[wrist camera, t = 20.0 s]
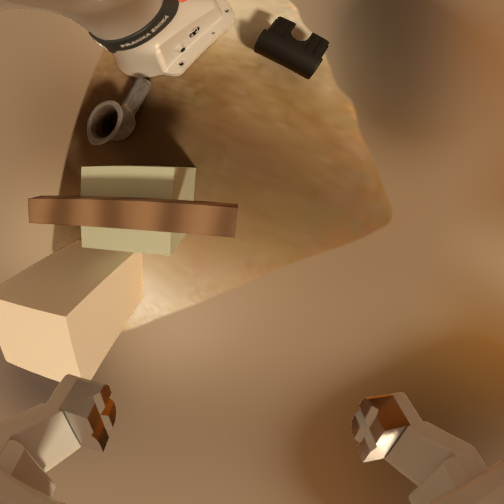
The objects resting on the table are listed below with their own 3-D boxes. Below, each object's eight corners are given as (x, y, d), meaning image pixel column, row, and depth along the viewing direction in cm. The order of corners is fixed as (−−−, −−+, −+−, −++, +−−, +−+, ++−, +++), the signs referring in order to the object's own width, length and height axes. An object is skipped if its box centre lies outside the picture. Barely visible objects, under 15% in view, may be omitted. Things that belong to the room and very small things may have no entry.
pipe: (162, 88, 40) (149, 75, 33) (126, 154, 43) (106, 152, 36) (135, 77, 39) (118, 63, 32) (100, 140, 42) (78, 137, 34)
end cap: (252, 57, 39) (254, 42, 33) (271, 30, 38) (276, 12, 31) (304, 85, 41) (314, 73, 35) (322, 56, 40) (333, 42, 33)
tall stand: (142, 245, 48) (65, 316, 23) (143, 297, 51) (85, 389, 26) (77, 240, 47) (-15, 294, 22) (81, 288, 50) (6, 360, 25)
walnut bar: (237, 204, 31) (237, 207, 28) (235, 231, 31) (234, 237, 29) (41, 195, 29) (28, 198, 26) (42, 218, 30) (29, 222, 27)
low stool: (196, 167, 44) (174, 167, 29) (191, 227, 47) (170, 255, 32) (128, 165, 44) (81, 166, 28) (126, 222, 46) (81, 247, 31)
